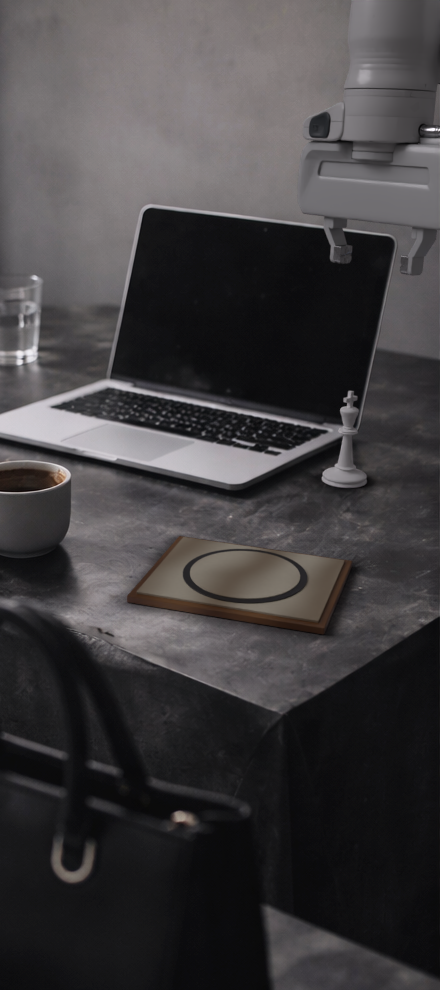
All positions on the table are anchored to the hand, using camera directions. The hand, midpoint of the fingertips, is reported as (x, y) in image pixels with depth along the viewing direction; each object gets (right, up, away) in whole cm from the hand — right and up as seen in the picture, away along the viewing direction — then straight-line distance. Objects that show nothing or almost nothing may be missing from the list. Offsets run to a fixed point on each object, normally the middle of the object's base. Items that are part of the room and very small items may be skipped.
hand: (374, 268), depth 100 cm
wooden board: (-14, -31, -18) cm, 38 cm away
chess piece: (-2, -22, +7) cm, 23 cm away
